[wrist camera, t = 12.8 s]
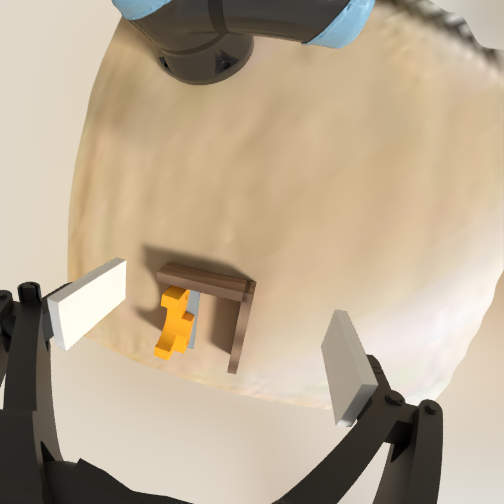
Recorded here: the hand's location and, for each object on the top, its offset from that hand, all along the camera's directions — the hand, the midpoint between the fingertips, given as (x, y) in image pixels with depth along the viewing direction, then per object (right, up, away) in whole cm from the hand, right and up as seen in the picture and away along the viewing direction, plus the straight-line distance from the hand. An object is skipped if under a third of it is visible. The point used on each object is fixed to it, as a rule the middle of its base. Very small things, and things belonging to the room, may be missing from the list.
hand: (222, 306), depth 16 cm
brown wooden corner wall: (-6, -7, +30) cm, 31 cm away
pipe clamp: (-10, -7, +30) cm, 33 cm away
